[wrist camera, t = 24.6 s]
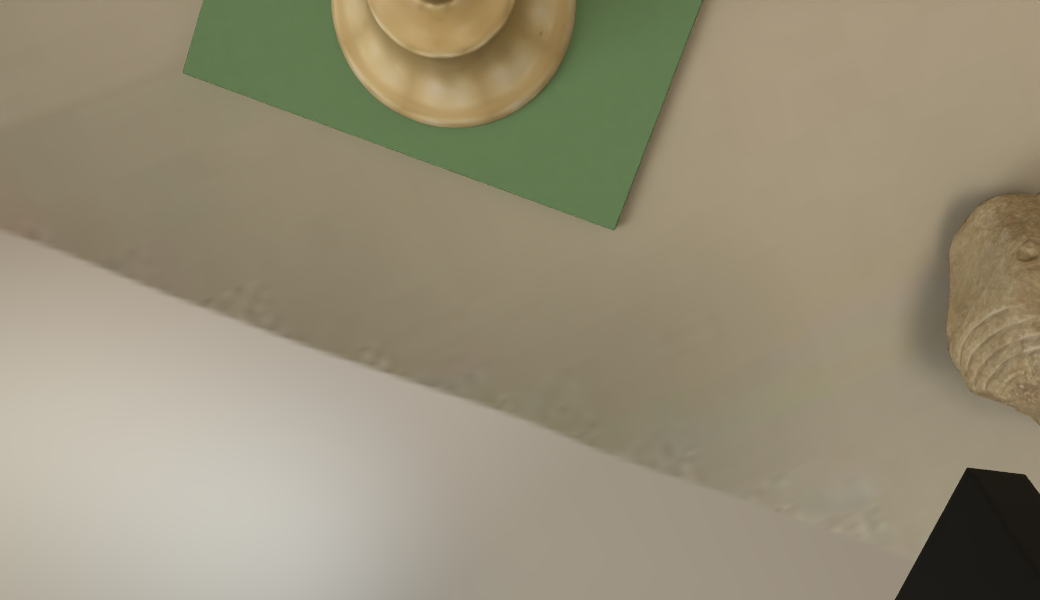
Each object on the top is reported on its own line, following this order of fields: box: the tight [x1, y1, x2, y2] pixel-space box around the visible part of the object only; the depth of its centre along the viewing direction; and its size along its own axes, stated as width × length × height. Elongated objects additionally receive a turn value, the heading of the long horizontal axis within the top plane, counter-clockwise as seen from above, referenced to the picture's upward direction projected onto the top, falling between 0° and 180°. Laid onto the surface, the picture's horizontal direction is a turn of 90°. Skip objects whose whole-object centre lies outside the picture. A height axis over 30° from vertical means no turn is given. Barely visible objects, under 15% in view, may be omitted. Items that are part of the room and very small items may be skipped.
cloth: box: [183, 0, 703, 230], centre depth 32 cm, size 16×11×1 cm
